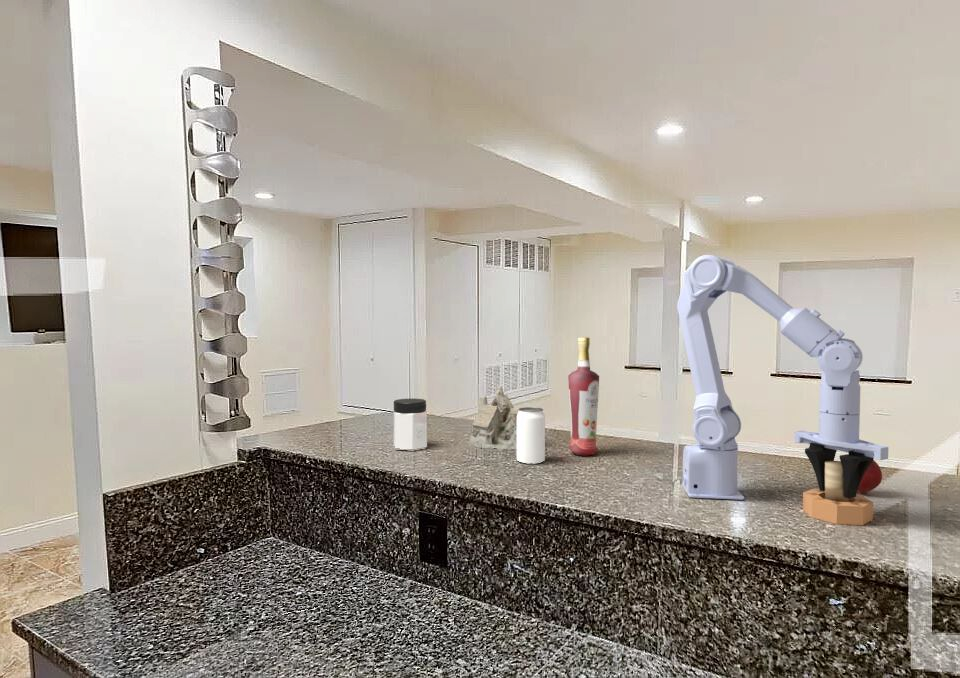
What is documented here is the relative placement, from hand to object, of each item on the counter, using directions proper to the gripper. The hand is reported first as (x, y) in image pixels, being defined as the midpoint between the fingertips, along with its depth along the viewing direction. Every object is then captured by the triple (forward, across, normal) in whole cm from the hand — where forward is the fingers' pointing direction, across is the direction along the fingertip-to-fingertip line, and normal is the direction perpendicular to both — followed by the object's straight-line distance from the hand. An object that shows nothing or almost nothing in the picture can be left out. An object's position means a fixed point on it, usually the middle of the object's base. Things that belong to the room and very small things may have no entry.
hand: (837, 493), depth 98 cm
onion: (+4, +5, -16) cm, 17 cm away
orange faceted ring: (+4, 0, 0) cm, 4 cm away
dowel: (+3, 0, 0) cm, 3 cm away
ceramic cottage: (+4, +72, +24) cm, 76 cm away
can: (+4, +54, +27) cm, 60 cm away
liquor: (+4, +54, +12) cm, 56 cm away
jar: (+4, +79, +47) cm, 92 cm away
